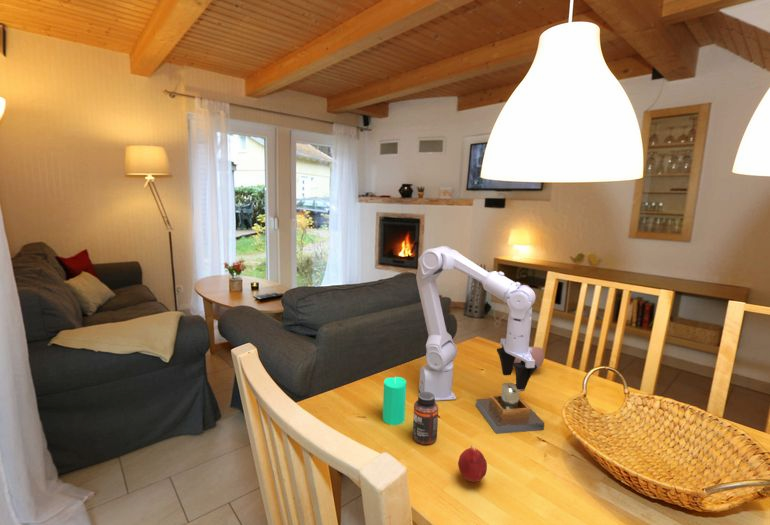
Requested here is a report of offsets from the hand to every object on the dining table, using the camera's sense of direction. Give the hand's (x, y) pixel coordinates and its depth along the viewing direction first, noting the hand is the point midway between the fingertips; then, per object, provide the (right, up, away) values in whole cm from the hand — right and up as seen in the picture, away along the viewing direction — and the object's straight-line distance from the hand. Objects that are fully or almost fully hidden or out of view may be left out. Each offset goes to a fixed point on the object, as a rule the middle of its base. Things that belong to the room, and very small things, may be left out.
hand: (513, 381), depth 102 cm
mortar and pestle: (+14, -6, +30) cm, 34 cm away
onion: (-16, -14, -22) cm, 31 cm away
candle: (-32, -10, 0) cm, 33 cm away
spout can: (-1, -8, +1) cm, 8 cm away
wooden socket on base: (-1, -10, +2) cm, 10 cm away
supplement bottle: (-25, -12, -8) cm, 28 cm away
